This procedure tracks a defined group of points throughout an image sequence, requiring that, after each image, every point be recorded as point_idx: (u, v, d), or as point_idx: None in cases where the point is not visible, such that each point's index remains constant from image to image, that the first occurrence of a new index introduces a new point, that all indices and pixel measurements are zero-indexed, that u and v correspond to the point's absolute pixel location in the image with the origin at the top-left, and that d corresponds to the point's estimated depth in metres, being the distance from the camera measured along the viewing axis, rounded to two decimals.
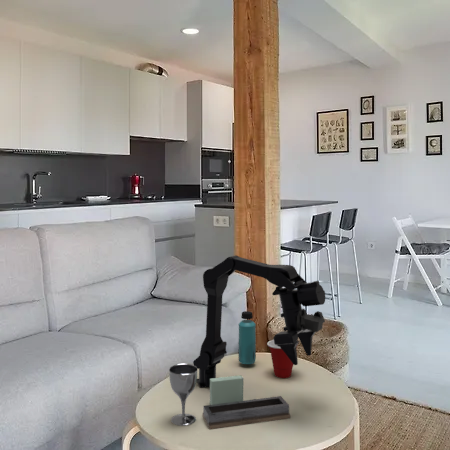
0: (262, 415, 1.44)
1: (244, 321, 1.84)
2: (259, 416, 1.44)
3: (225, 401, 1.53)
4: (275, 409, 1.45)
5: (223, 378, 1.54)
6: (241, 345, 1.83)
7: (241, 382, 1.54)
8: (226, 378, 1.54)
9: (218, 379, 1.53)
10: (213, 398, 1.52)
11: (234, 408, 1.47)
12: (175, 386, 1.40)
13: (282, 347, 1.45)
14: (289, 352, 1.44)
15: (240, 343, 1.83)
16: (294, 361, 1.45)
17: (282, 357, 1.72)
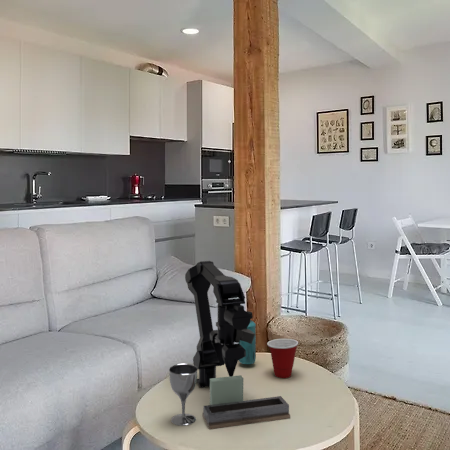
0: (262, 415, 1.44)
1: None
2: (259, 416, 1.44)
3: (225, 401, 1.53)
4: (275, 409, 1.45)
5: (223, 378, 1.54)
6: (241, 345, 1.83)
7: (241, 382, 1.54)
8: (226, 378, 1.54)
9: (218, 379, 1.53)
10: (213, 398, 1.52)
11: (234, 408, 1.47)
12: (175, 386, 1.40)
13: (226, 360, 1.46)
14: (230, 365, 1.48)
15: (240, 343, 1.83)
16: (231, 373, 1.49)
17: (282, 357, 1.72)
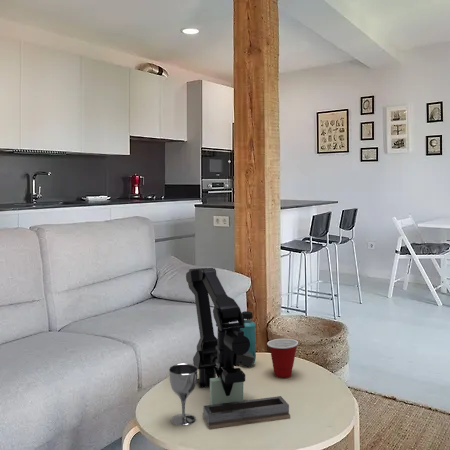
0: (262, 415, 1.44)
1: None
2: (259, 416, 1.44)
3: (225, 401, 1.53)
4: (275, 409, 1.45)
5: None
6: None
7: (241, 382, 1.54)
8: None
9: (218, 379, 1.53)
10: (213, 398, 1.52)
11: (234, 408, 1.47)
12: (175, 386, 1.40)
13: (223, 380, 1.50)
14: (227, 385, 1.51)
15: None
16: (228, 392, 1.52)
17: (282, 357, 1.72)
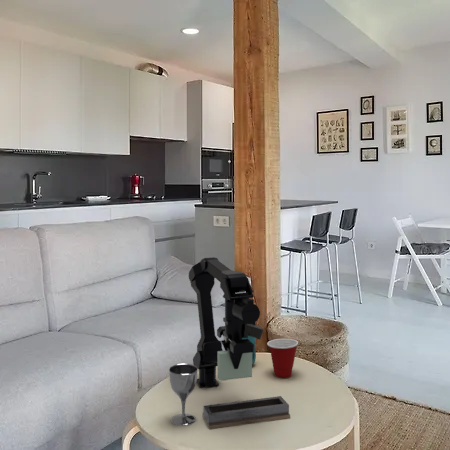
0: (262, 415, 1.44)
1: None
2: (259, 416, 1.44)
3: (233, 374, 1.48)
4: (275, 409, 1.45)
5: None
6: None
7: (250, 355, 1.49)
8: None
9: (226, 352, 1.48)
10: (221, 371, 1.47)
11: (234, 408, 1.47)
12: (175, 386, 1.40)
13: (231, 352, 1.45)
14: (235, 357, 1.47)
15: None
16: (236, 365, 1.48)
17: (282, 357, 1.72)
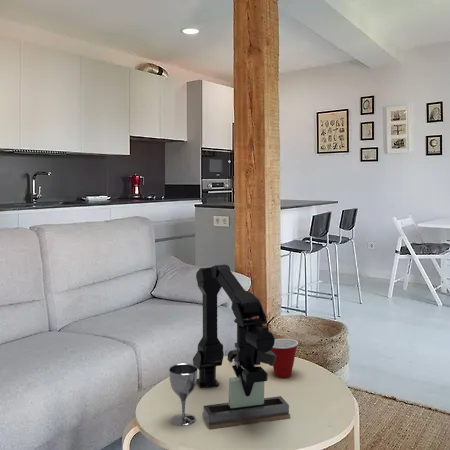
0: (262, 415, 1.44)
1: None
2: (259, 416, 1.44)
3: (245, 402, 1.44)
4: (275, 409, 1.45)
5: None
6: None
7: (262, 382, 1.45)
8: None
9: (238, 378, 1.44)
10: (232, 399, 1.43)
11: (234, 408, 1.47)
12: (175, 386, 1.40)
13: (243, 380, 1.41)
14: (247, 384, 1.42)
15: None
16: (248, 393, 1.43)
17: (282, 357, 1.72)
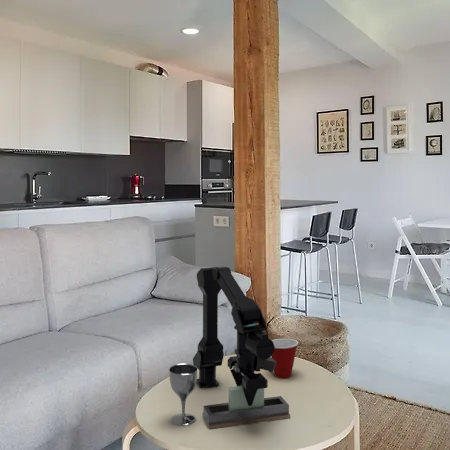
0: (262, 415, 1.44)
1: None
2: (259, 416, 1.44)
3: None
4: (275, 409, 1.45)
5: None
6: None
7: (262, 391, 1.45)
8: None
9: (237, 388, 1.44)
10: (232, 408, 1.43)
11: None
12: (175, 386, 1.40)
13: (245, 389, 1.39)
14: (249, 394, 1.41)
15: None
16: (250, 402, 1.42)
17: (282, 357, 1.72)
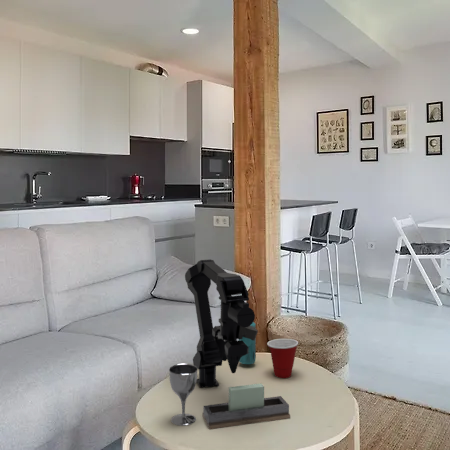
0: (262, 415, 1.44)
1: None
2: (259, 416, 1.44)
3: None
4: (275, 409, 1.45)
5: (243, 386, 1.45)
6: None
7: (262, 391, 1.45)
8: (246, 387, 1.45)
9: (237, 388, 1.44)
10: (232, 408, 1.43)
11: None
12: (175, 386, 1.40)
13: (229, 357, 1.46)
14: (233, 362, 1.48)
15: None
16: (234, 369, 1.49)
17: (282, 357, 1.72)
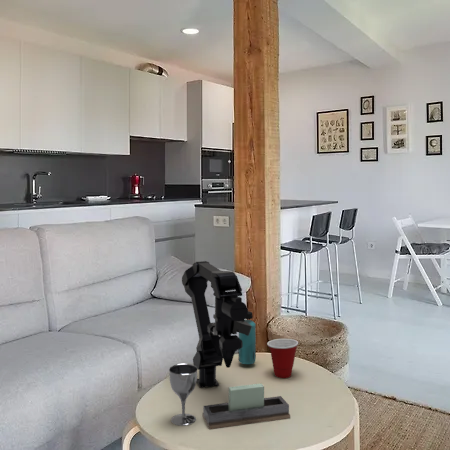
0: (262, 415, 1.44)
1: None
2: (259, 416, 1.44)
3: None
4: (275, 409, 1.45)
5: (243, 386, 1.45)
6: None
7: (262, 391, 1.45)
8: (246, 387, 1.45)
9: (237, 388, 1.44)
10: (232, 408, 1.43)
11: None
12: (175, 386, 1.40)
13: (223, 351, 1.49)
14: (227, 356, 1.50)
15: None
16: (229, 364, 1.51)
17: (282, 357, 1.72)
